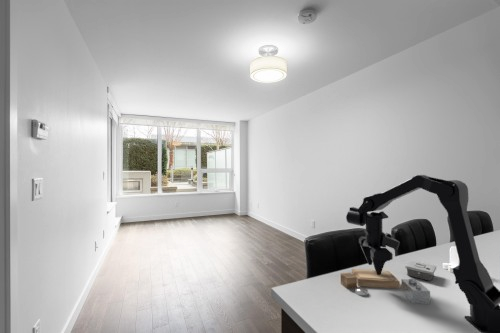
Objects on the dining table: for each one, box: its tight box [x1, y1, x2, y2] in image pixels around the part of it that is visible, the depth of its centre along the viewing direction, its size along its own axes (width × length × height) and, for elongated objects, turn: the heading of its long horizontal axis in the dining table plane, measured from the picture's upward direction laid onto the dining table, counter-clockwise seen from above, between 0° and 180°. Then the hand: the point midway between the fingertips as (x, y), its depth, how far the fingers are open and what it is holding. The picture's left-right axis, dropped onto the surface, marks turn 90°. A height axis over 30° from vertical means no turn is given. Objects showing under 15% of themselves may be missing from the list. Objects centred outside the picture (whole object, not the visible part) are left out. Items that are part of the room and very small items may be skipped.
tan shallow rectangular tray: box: [351, 268, 400, 289], centre depth 93 cm, size 9×14×3 cm, turn 81°
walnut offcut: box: [340, 272, 358, 290], centre depth 90 cm, size 4×4×4 cm
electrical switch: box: [404, 259, 437, 282], centre depth 98 cm, size 9×5×9 cm
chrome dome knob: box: [354, 286, 369, 297], centre depth 85 cm, size 4×4×2 cm
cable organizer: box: [442, 245, 459, 274], centre depth 103 cm, size 5×10×10 cm, turn 84°
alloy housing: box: [400, 278, 431, 305], centre depth 82 cm, size 8×5×5 cm, turn 171°
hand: (374, 269), depth 93 cm, fingers open, 9 cm apart
